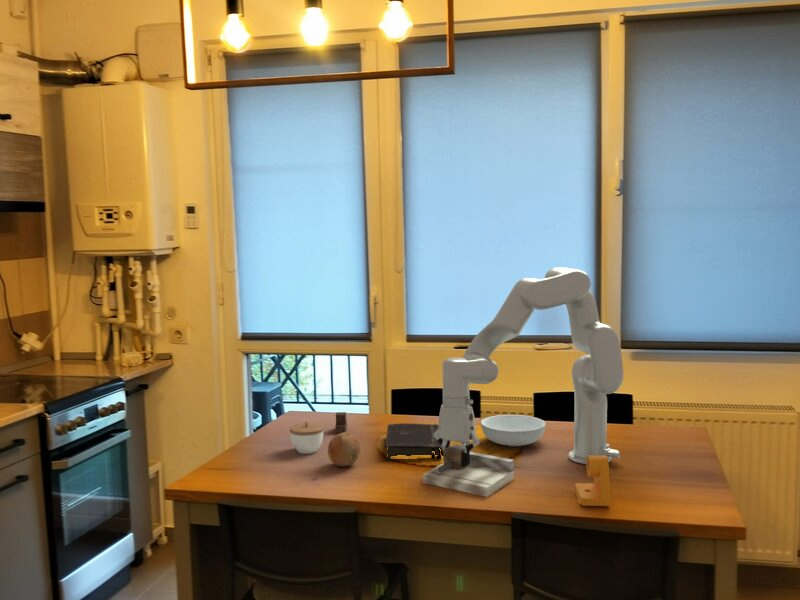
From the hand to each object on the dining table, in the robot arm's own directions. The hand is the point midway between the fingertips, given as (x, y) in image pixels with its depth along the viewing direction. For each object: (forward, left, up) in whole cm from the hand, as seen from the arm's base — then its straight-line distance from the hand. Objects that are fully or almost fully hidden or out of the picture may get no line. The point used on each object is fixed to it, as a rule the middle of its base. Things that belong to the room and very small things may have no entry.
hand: (456, 462), depth 212 cm
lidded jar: (+52, +6, -4) cm, 52 cm away
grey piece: (-5, +3, -3) cm, 7 cm away
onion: (+33, +11, -4) cm, 34 cm away
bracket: (-39, -1, -4) cm, 40 cm away
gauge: (0, +3, -1) cm, 3 cm away
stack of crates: (+55, -18, -4) cm, 58 cm away
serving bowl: (0, -36, -4) cm, 37 cm away
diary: (+25, -15, -4) cm, 29 cm away
